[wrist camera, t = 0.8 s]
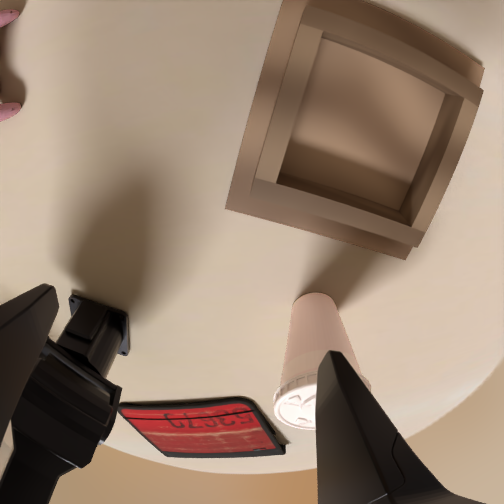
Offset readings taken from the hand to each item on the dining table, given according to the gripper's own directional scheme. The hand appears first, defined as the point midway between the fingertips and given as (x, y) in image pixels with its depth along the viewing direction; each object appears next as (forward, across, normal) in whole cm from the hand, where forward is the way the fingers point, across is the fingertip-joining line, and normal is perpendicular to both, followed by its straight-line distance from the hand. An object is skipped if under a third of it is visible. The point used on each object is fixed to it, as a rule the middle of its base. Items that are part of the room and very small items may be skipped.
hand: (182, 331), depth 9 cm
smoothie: (+14, -8, +9) cm, 19 cm away
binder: (+15, -1, +36) cm, 39 cm away
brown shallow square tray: (+13, -7, -6) cm, 16 cm away
